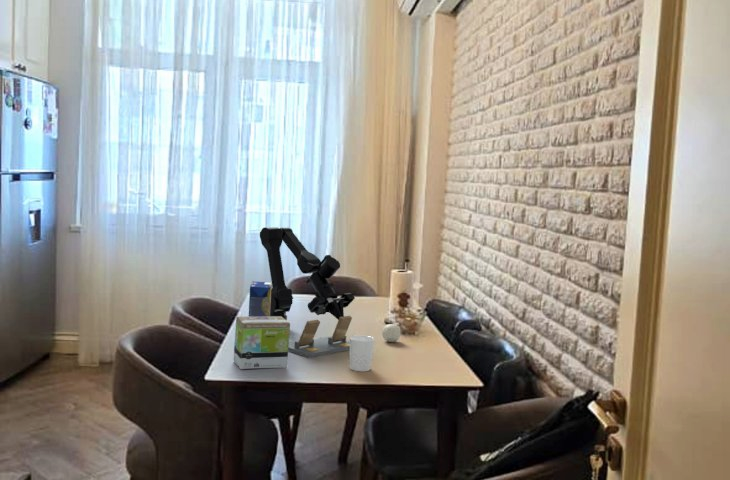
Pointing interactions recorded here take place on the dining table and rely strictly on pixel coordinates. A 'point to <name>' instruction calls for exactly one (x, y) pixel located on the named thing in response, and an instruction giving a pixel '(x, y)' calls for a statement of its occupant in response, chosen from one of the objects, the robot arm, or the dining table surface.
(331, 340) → the twin lever plate
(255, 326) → the tea box
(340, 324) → the lever
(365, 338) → the white cup
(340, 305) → the robot arm
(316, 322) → the lever
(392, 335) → the baseball
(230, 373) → the dining table surface
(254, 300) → the beverage box
